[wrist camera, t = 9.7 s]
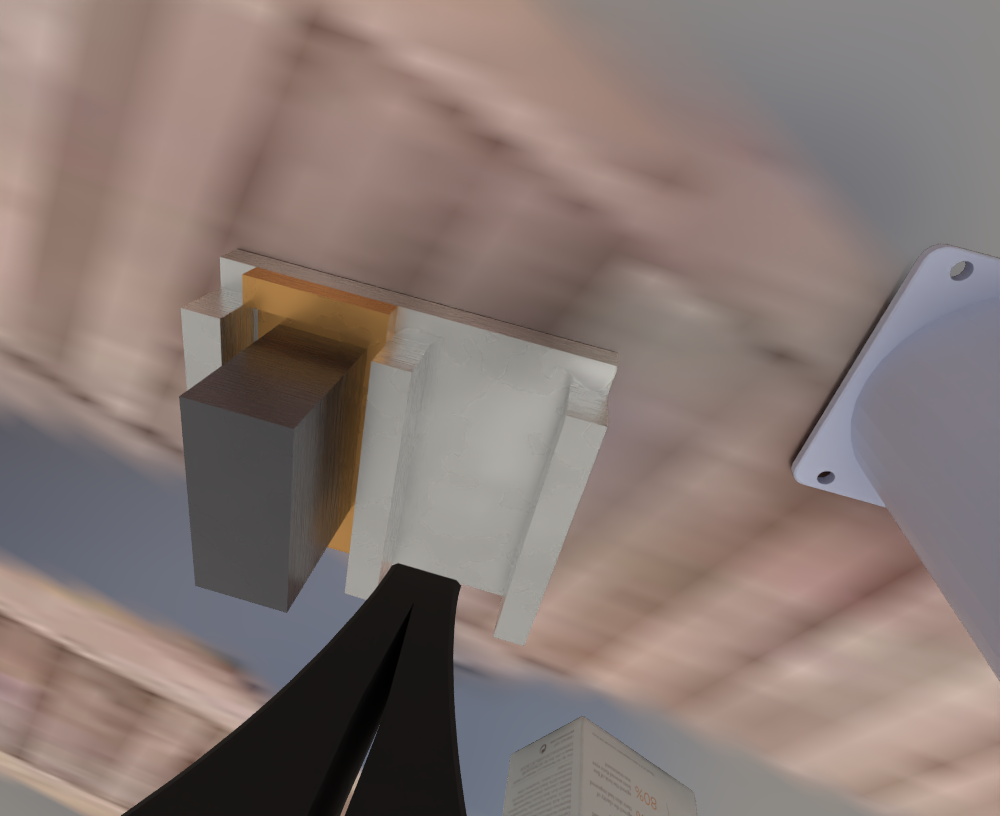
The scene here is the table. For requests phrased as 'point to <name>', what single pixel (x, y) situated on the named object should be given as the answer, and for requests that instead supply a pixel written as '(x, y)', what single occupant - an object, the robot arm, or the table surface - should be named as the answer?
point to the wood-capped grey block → (271, 462)
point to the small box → (590, 778)
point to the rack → (434, 426)
